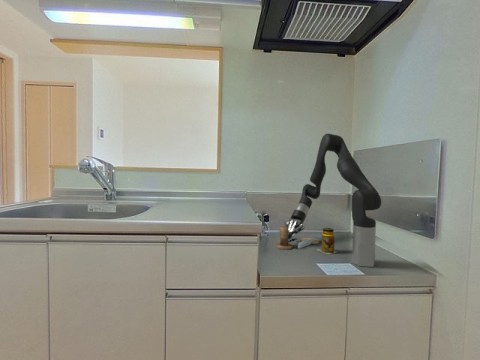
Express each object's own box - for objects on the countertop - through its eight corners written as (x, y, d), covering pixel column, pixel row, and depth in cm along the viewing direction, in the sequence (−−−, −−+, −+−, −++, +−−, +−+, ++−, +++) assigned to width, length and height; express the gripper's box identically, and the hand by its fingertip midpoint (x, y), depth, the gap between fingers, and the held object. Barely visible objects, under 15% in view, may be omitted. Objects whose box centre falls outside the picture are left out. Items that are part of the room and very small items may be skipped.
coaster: (320, 244, 153) (320, 243, 153) (301, 243, 154) (301, 242, 154) (318, 239, 163) (318, 238, 162) (301, 238, 164) (301, 237, 164)
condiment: (328, 254, 135) (328, 230, 134) (315, 250, 142) (315, 227, 142) (338, 252, 139) (338, 229, 138) (325, 248, 146) (325, 225, 145)
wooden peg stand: (293, 250, 143) (293, 229, 142) (276, 249, 143) (276, 229, 143) (291, 245, 151) (291, 225, 151) (275, 244, 152) (275, 225, 152)
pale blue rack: (293, 238, 165) (293, 234, 164) (313, 242, 155) (313, 238, 155) (279, 243, 155) (279, 239, 155) (299, 248, 145) (299, 243, 145)
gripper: (288, 207, 159) (274, 232, 152) (307, 210, 150) (294, 236, 142) (293, 215, 164) (280, 239, 156) (312, 218, 154) (300, 244, 146)
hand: (287, 238), depth 149 cm, fingers closed
